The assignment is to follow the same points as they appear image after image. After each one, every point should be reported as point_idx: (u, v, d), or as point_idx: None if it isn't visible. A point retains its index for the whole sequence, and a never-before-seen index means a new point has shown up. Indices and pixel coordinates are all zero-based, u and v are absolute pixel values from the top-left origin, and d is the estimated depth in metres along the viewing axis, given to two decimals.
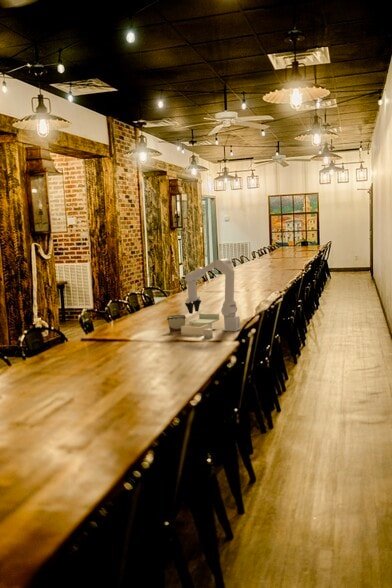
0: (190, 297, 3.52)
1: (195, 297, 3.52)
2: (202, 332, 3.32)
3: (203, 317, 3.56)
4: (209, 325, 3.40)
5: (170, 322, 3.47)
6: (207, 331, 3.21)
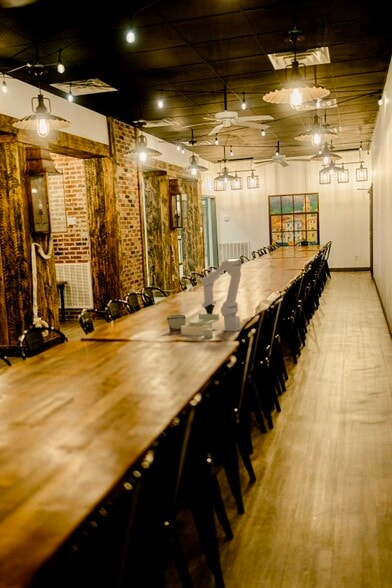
0: (206, 301, 3.51)
1: (211, 301, 3.52)
2: (202, 332, 3.32)
3: (203, 317, 3.55)
4: (209, 325, 3.40)
5: (170, 322, 3.47)
6: (207, 331, 3.21)
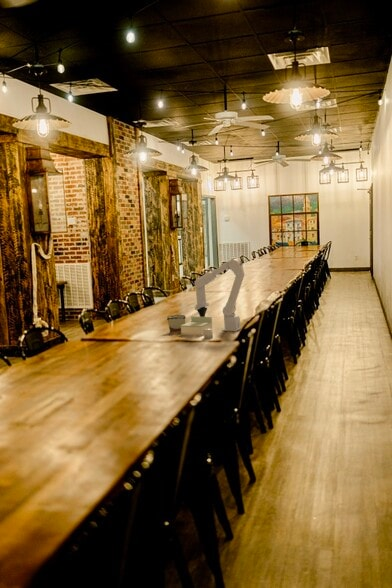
0: (199, 303, 3.43)
1: (204, 303, 3.43)
2: (202, 332, 3.32)
3: (195, 320, 3.47)
4: (209, 325, 3.40)
5: (170, 322, 3.47)
6: (207, 331, 3.21)
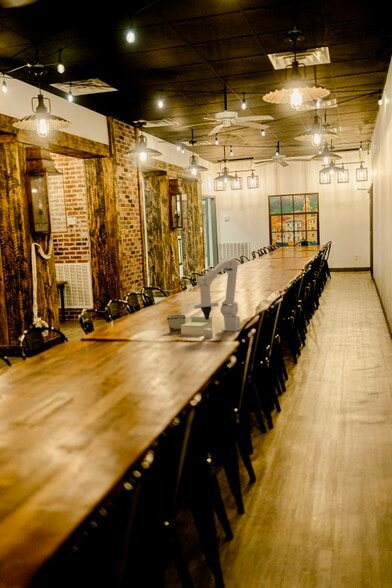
0: (201, 302, 3.23)
1: (205, 303, 3.21)
2: (202, 332, 3.32)
3: (195, 320, 3.47)
4: (209, 325, 3.40)
5: (170, 322, 3.47)
6: (207, 330, 3.21)
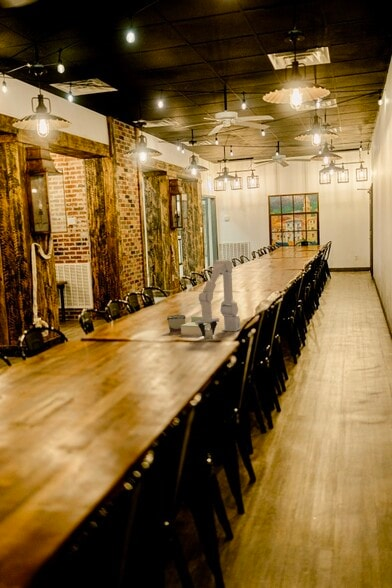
0: (202, 318, 3.22)
1: (207, 319, 3.20)
2: None
3: (195, 320, 3.47)
4: (209, 325, 3.40)
5: (170, 322, 3.47)
6: (206, 330, 3.21)
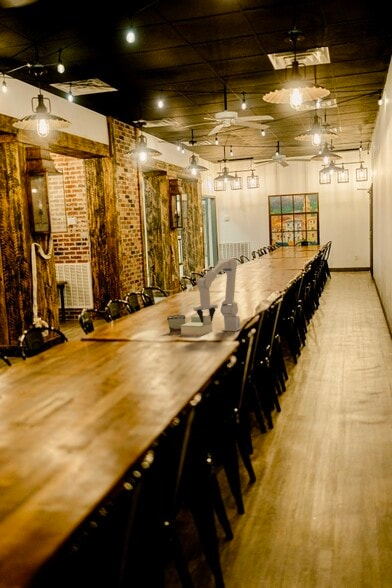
0: None
1: (205, 305, 3.20)
2: (202, 332, 3.32)
3: (195, 320, 3.47)
4: (209, 325, 3.40)
5: (170, 322, 3.47)
6: (205, 317, 3.21)
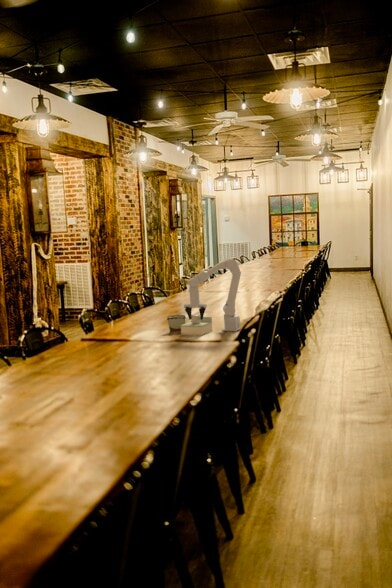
0: None
1: (191, 304, 3.37)
2: (202, 332, 3.32)
3: None
4: (209, 325, 3.40)
5: (170, 322, 3.47)
6: (192, 316, 3.38)
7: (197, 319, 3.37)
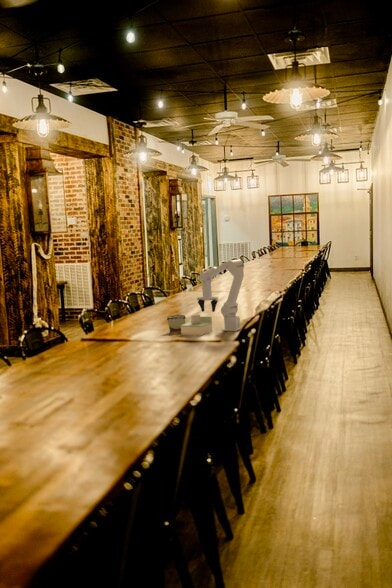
0: None
1: (203, 296, 3.50)
2: (202, 332, 3.32)
3: None
4: (209, 325, 3.40)
5: (170, 322, 3.47)
6: (192, 316, 3.38)
7: (197, 319, 3.37)
